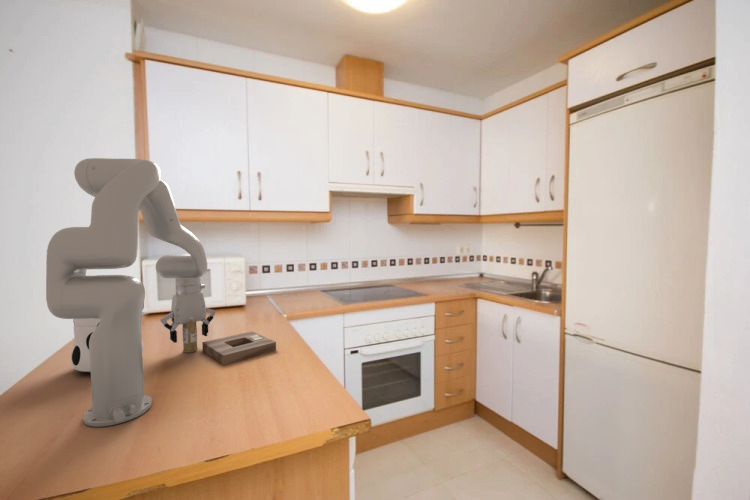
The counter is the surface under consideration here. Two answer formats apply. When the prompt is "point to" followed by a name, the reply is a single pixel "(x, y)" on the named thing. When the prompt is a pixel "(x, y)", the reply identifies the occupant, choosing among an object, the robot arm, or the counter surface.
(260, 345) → the socket board
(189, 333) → the sprinkles bottle
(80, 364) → the milk container
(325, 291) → the counter surface
